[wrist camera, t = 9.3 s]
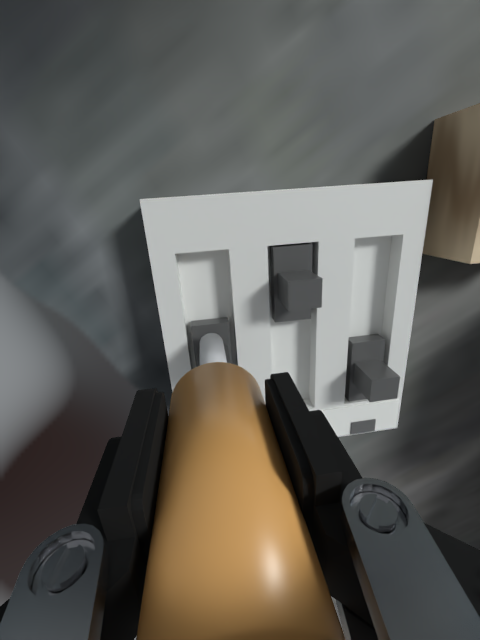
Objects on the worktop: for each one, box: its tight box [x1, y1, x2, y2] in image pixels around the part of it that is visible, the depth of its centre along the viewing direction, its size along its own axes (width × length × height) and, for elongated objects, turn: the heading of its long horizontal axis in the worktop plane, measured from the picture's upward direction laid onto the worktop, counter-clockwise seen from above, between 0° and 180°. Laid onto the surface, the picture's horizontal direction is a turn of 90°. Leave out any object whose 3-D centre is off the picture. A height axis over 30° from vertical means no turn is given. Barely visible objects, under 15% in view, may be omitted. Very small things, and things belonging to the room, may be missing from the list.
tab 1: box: [191, 317, 232, 367], centre depth 16 cm, size 4×2×3 cm, turn 4°
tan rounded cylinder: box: [136, 333, 345, 640], centre depth 10 cm, size 3×3×12 cm
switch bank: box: [140, 179, 433, 437], centre depth 18 cm, size 15×14×3 cm
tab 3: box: [345, 334, 400, 402], centre depth 18 cm, size 4×2×3 cm, turn 4°
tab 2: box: [270, 243, 323, 323], centre depth 15 cm, size 4×2×3 cm, turn 4°
